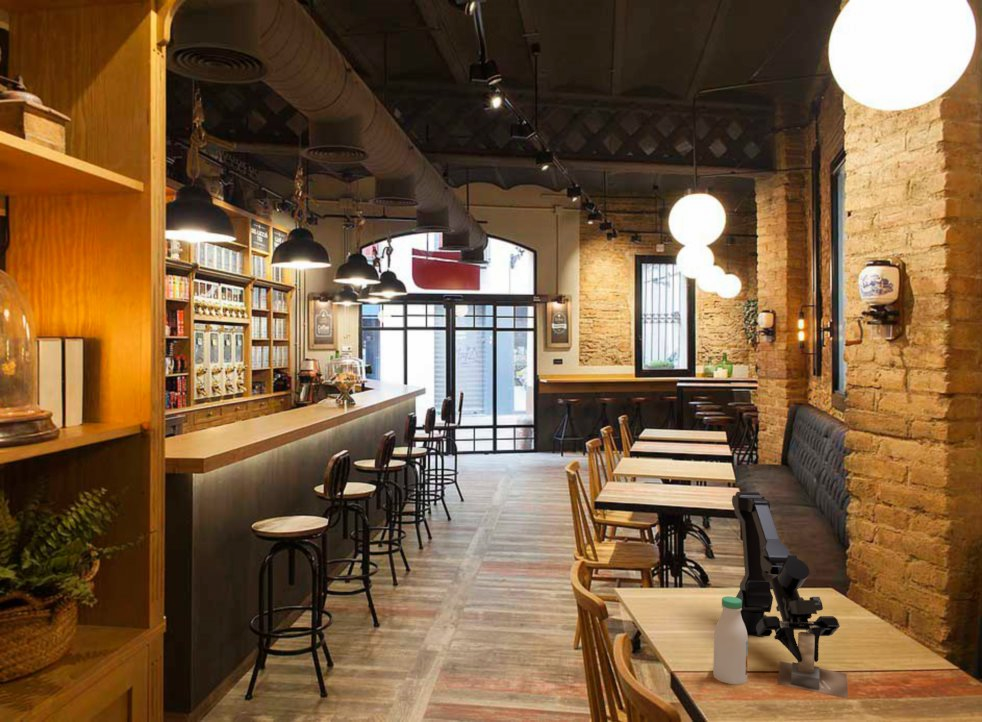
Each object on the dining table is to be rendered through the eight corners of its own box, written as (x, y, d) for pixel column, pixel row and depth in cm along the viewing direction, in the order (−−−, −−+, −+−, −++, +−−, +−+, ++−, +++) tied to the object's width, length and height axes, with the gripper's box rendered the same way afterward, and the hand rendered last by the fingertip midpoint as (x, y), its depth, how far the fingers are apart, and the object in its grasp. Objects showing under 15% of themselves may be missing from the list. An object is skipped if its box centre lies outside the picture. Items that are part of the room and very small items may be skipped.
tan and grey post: (791, 684, 169) (792, 637, 169) (792, 672, 175) (793, 627, 175) (819, 689, 166) (820, 642, 166) (819, 677, 173) (820, 631, 173)
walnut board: (777, 689, 169) (777, 684, 169) (780, 666, 181) (780, 661, 181) (848, 703, 162) (848, 698, 162) (846, 678, 175) (846, 673, 175)
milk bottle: (742, 692, 167) (744, 606, 167) (709, 683, 171) (711, 600, 171) (750, 679, 173) (752, 597, 173) (717, 671, 177) (719, 591, 177)
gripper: (762, 583, 174) (782, 647, 163) (836, 583, 175) (861, 647, 164) (747, 604, 182) (765, 666, 171) (819, 604, 183) (841, 666, 172)
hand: (808, 661), depth 169 cm, fingers closed on tan and grey post, 4 cm apart
